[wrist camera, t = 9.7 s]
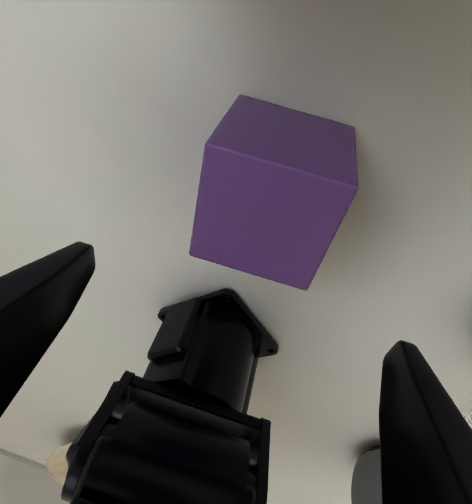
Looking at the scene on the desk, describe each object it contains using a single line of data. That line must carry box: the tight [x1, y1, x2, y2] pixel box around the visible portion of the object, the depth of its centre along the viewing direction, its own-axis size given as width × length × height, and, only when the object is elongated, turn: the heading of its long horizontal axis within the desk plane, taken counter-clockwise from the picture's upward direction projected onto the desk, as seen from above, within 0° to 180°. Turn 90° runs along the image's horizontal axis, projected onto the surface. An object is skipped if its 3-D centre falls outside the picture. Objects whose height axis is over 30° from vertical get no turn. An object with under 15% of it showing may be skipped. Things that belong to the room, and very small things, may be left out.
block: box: [189, 95, 358, 290], centre depth 15 cm, size 5×5×5 cm
